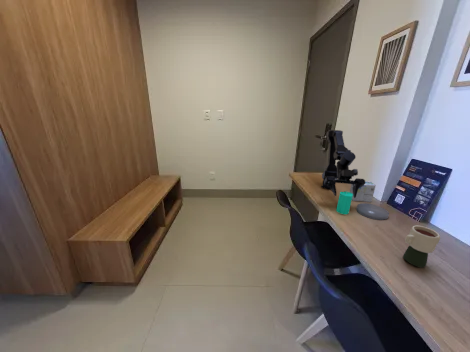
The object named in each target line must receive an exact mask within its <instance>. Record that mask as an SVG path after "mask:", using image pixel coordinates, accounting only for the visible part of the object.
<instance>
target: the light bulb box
mask: <svg viewBox="0 0 470 352" xmlns="http://www.w3.org/2000/svg"><path fill="white" fill-rule="evenodd" d="M353 187H354V186H353V184H350V189H349V192H350V193H352V194H353ZM375 190H376V184H374V183H373V182H372V181H369V180H365V184H364V185H363V186H362V187H360V188H359V189H358V191H357V195H356V197H355V198H354V196H353V197H352V201H353V202H365V203H366V202H367V203H371V202H373V197H374V194H375Z"/></svg>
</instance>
